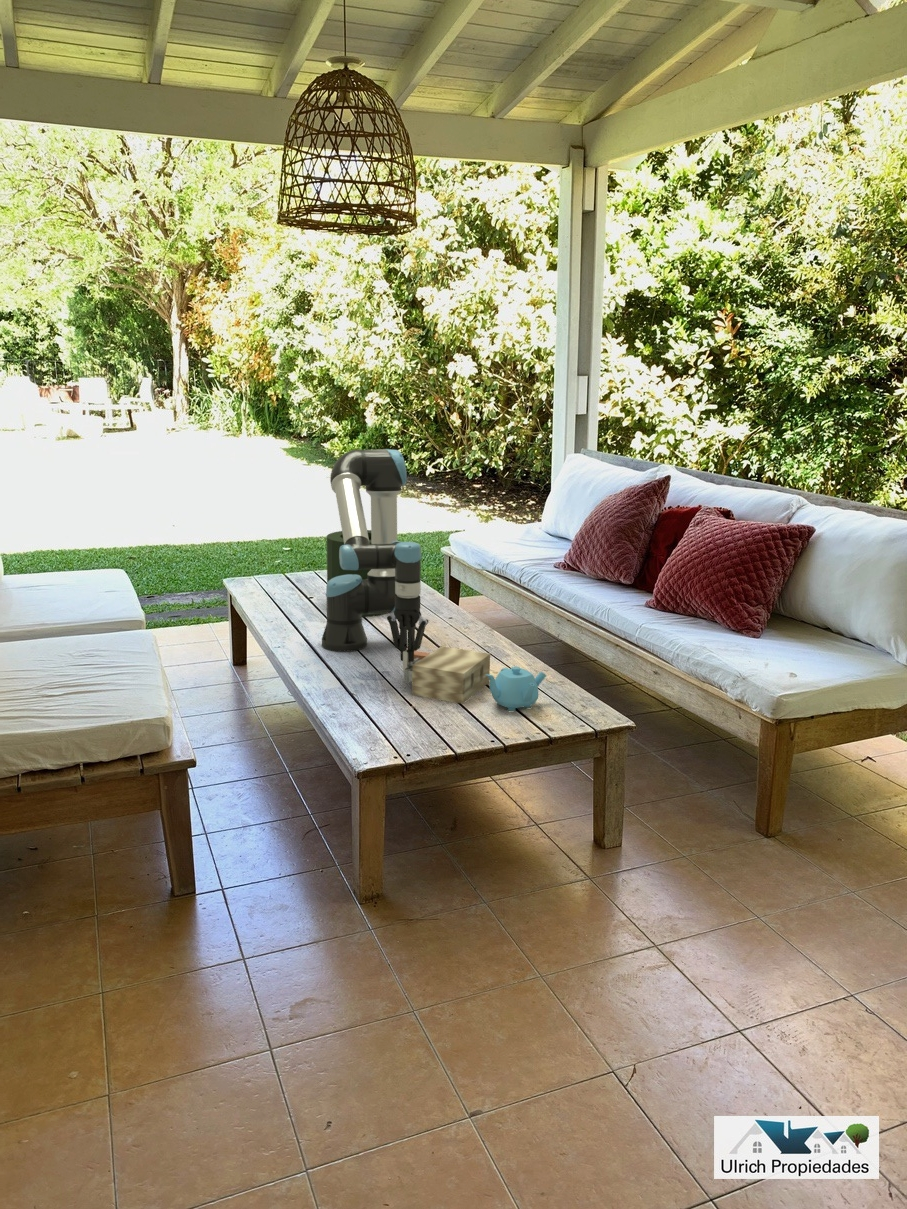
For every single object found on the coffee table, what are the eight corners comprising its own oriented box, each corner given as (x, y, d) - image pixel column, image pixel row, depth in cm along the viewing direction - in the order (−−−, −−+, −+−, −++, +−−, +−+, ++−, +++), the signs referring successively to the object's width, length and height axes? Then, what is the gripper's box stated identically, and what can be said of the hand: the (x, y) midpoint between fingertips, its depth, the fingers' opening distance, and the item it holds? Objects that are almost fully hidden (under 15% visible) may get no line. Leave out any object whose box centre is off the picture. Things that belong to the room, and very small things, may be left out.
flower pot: (406, 606, 370) (407, 535, 362) (366, 621, 349) (366, 545, 342) (355, 596, 383) (354, 527, 375) (313, 610, 362) (312, 537, 355)
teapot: (531, 718, 261) (533, 679, 258) (483, 711, 265) (484, 672, 262) (545, 700, 275) (547, 662, 272) (500, 693, 279) (501, 656, 276)
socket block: (412, 694, 277) (412, 665, 274) (440, 674, 294) (441, 646, 292) (463, 703, 271) (463, 673, 268) (489, 682, 288) (490, 653, 286)
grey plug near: (404, 682, 278) (404, 669, 277) (410, 678, 281) (410, 665, 280) (458, 691, 271) (458, 678, 270) (463, 687, 275) (464, 674, 274)
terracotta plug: (404, 664, 293) (404, 652, 292) (410, 661, 297) (410, 648, 295) (455, 673, 286) (455, 660, 285) (460, 669, 290) (461, 656, 289)
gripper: (382, 595, 280) (382, 671, 286) (422, 600, 275) (421, 678, 281) (393, 589, 287) (393, 664, 293) (433, 594, 282) (432, 671, 288)
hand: (407, 671), depth 287 cm, fingers closed
